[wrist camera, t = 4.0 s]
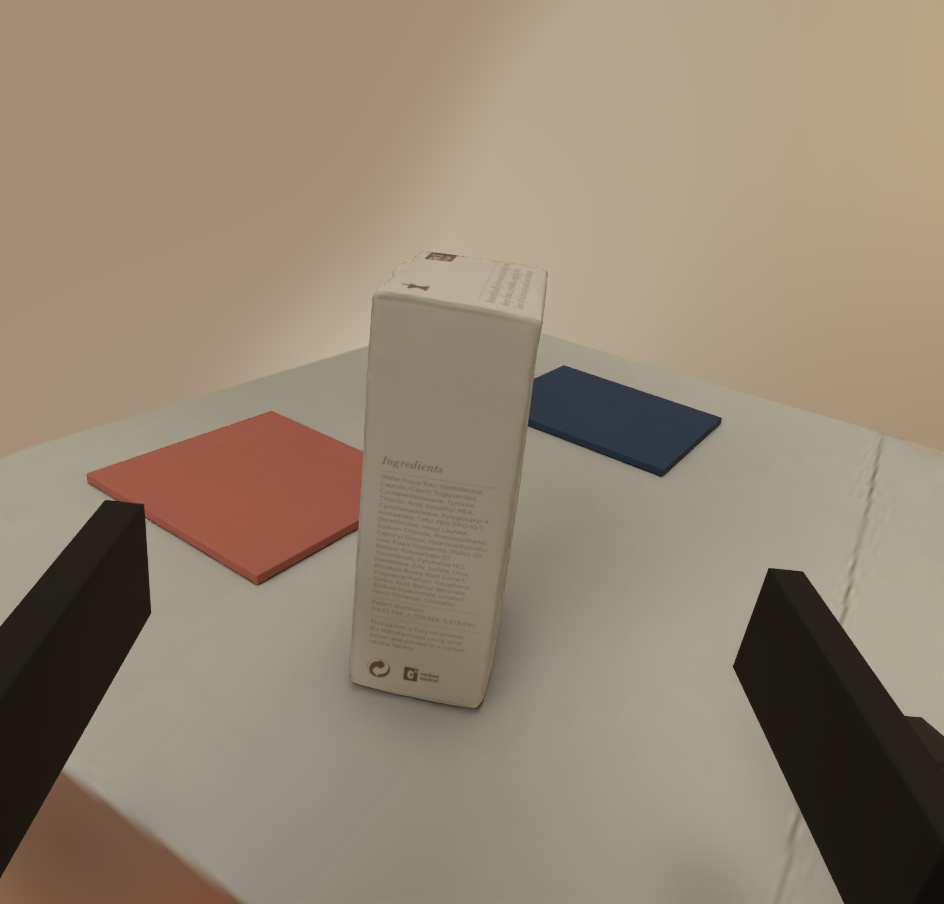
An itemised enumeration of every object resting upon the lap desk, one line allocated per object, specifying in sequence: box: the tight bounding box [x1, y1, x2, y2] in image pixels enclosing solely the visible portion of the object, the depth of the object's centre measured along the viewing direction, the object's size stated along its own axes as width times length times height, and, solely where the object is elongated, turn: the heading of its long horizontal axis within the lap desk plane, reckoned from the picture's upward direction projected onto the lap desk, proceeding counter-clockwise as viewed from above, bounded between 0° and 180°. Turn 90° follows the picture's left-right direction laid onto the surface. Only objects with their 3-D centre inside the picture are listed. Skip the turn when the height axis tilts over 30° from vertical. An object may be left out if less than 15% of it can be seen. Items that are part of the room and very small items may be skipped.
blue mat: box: [528, 365, 722, 476], centre depth 45 cm, size 11×10×1 cm
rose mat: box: [87, 411, 363, 584], centre depth 33 cm, size 10×10×1 cm
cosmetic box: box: [350, 251, 548, 708], centre depth 23 cm, size 6×4×12 cm
